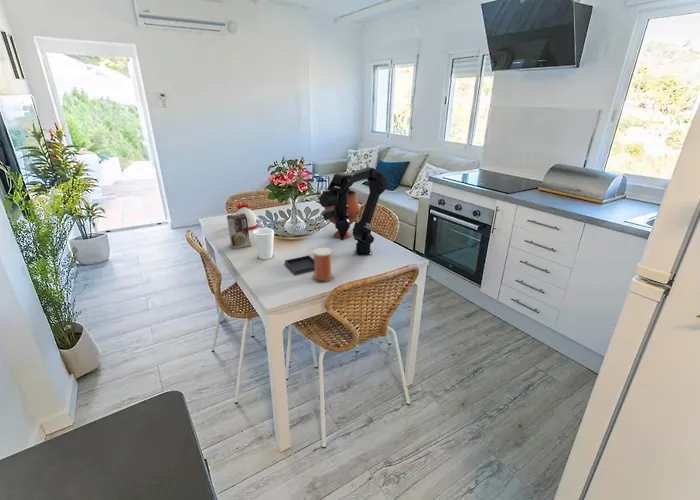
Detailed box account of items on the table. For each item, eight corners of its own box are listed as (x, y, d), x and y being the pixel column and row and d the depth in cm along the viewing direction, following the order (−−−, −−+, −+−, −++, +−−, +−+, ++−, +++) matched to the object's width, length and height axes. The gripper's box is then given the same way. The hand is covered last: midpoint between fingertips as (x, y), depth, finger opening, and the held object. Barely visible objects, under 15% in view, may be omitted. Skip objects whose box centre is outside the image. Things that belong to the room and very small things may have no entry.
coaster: (331, 273, 154) (331, 271, 153) (332, 281, 146) (332, 280, 146) (313, 273, 153) (313, 272, 153) (313, 282, 145) (313, 281, 145)
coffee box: (248, 242, 185) (245, 212, 178) (250, 246, 180) (247, 216, 173) (230, 244, 181) (226, 215, 175) (232, 249, 176) (228, 218, 169)
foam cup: (265, 262, 163) (263, 236, 157) (251, 257, 167) (248, 232, 162) (279, 255, 170) (277, 230, 165) (265, 251, 174) (263, 226, 169)
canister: (326, 271, 154) (326, 246, 149) (334, 278, 148) (334, 252, 143) (311, 274, 150) (310, 249, 146) (318, 282, 145) (317, 255, 140)
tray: (309, 258, 167) (309, 255, 166) (320, 268, 157) (320, 265, 156) (284, 264, 161) (284, 260, 160) (294, 274, 152) (294, 271, 151)
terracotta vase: (331, 228, 206) (331, 186, 197) (362, 231, 202) (364, 189, 192) (320, 239, 190) (319, 194, 180) (354, 243, 185) (355, 197, 175)
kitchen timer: (234, 223, 212) (231, 199, 206) (258, 221, 215) (255, 198, 209) (233, 231, 199) (230, 205, 193) (258, 229, 202) (255, 204, 196)
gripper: (322, 197, 161) (322, 229, 167) (323, 209, 144) (323, 244, 150) (346, 197, 162) (346, 228, 168) (350, 209, 145) (349, 243, 151)
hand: (341, 236), depth 159 cm, fingers open, 9 cm apart
